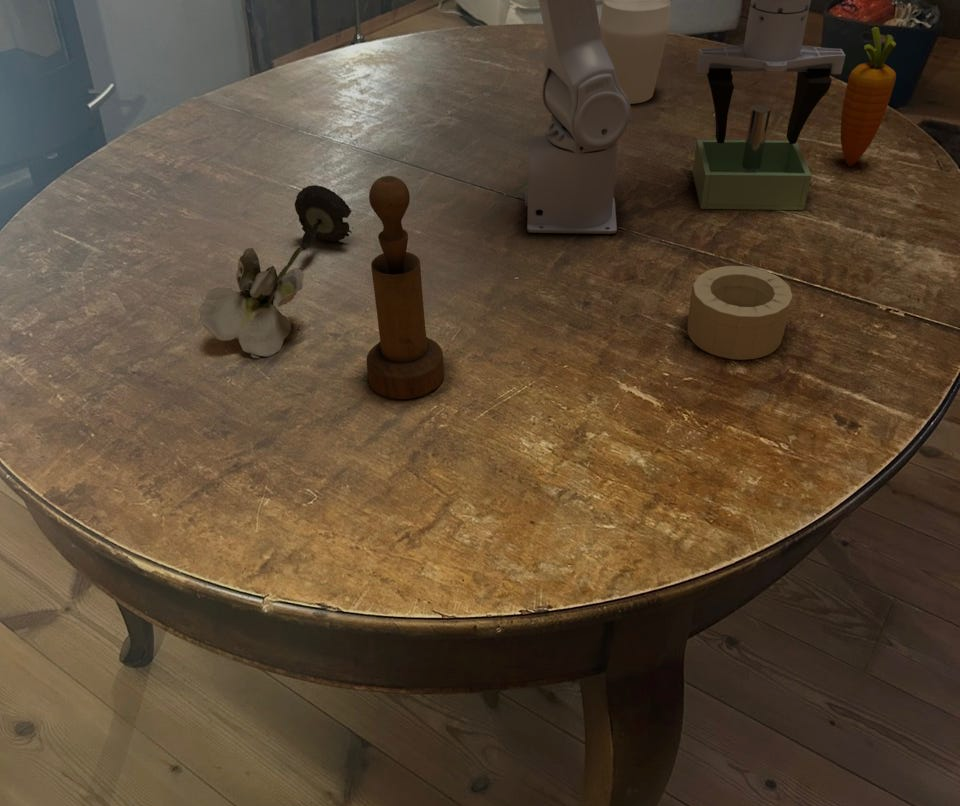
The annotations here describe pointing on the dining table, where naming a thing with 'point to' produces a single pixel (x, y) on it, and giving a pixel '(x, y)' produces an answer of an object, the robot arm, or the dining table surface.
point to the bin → (750, 176)
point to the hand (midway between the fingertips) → (755, 139)
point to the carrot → (866, 99)
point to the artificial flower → (272, 280)
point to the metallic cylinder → (756, 138)
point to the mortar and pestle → (399, 305)
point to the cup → (635, 43)
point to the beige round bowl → (738, 312)
